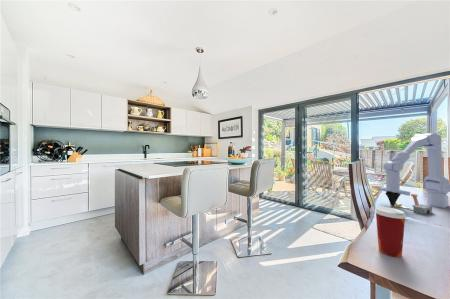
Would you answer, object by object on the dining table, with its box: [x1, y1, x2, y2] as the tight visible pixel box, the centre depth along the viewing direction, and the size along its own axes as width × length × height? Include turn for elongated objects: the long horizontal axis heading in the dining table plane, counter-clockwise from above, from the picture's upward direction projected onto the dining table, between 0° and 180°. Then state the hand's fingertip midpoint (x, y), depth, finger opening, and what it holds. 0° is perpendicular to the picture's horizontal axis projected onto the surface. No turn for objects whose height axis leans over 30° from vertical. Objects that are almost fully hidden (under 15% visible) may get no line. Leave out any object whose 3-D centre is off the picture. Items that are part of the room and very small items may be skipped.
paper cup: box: [374, 206, 407, 258], centre depth 59 cm, size 8×8×14 cm
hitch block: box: [413, 204, 433, 216], centre depth 93 cm, size 8×4×4 cm, turn 112°
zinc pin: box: [394, 202, 414, 212], centre depth 100 cm, size 5×7×3 cm, turn 22°
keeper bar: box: [410, 193, 420, 205], centre depth 101 cm, size 10×2×1 cm
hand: (392, 205), depth 105 cm, fingers closed
